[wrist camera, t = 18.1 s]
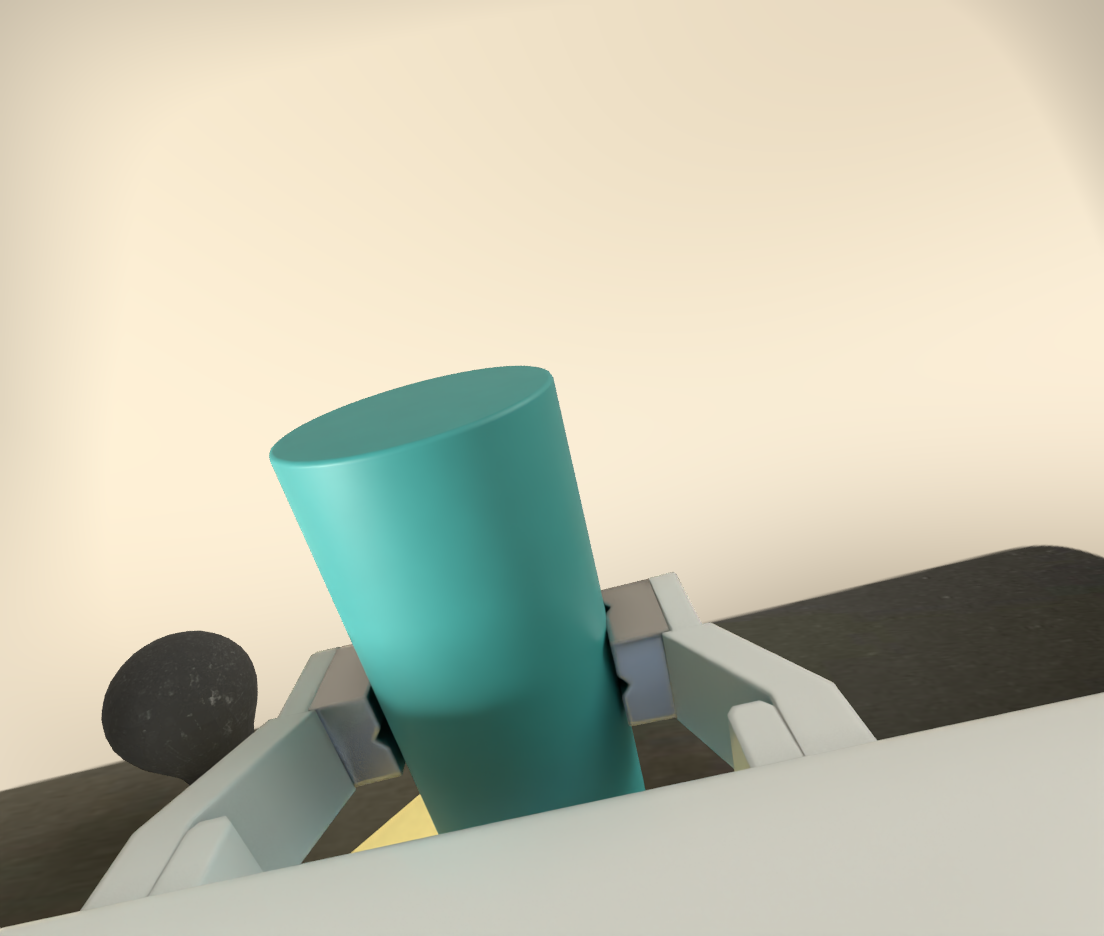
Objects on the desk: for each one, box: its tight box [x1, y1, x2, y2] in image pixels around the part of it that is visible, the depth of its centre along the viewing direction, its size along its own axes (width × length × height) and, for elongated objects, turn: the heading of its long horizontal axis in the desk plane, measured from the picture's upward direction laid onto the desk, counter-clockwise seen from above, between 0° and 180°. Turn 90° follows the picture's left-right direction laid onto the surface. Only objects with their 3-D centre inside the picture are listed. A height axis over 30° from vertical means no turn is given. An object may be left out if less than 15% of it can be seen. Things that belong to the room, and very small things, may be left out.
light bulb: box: [102, 631, 258, 785], centre depth 24 cm, size 6×6×10 cm
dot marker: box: [269, 366, 646, 835], centre depth 10 cm, size 4×4×12 cm
